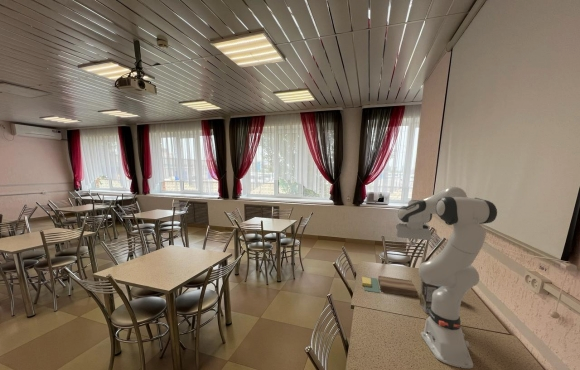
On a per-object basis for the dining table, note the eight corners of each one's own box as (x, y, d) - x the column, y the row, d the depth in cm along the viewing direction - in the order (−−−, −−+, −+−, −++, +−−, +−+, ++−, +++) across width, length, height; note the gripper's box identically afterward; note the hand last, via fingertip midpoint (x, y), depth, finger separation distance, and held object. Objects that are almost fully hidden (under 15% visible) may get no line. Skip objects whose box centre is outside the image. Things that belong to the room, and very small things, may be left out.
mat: (380, 293, 146) (380, 292, 146) (364, 290, 149) (364, 290, 149) (377, 278, 165) (377, 278, 165) (363, 276, 168) (363, 276, 168)
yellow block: (362, 282, 154) (362, 285, 155) (371, 284, 153) (371, 286, 153) (361, 276, 163) (361, 279, 163) (370, 278, 161) (370, 280, 162)
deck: (416, 296, 143) (417, 291, 142) (380, 290, 149) (380, 285, 148) (411, 286, 156) (411, 280, 156) (378, 280, 162) (378, 275, 162)
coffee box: (437, 314, 125) (439, 288, 124) (425, 313, 126) (427, 286, 125) (430, 305, 134) (432, 280, 133) (419, 303, 135) (420, 278, 134)
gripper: (397, 224, 143) (396, 244, 144) (432, 226, 137) (431, 248, 138) (395, 222, 149) (394, 241, 150) (429, 224, 144) (428, 245, 144)
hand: (412, 245), depth 144 cm, fingers closed
